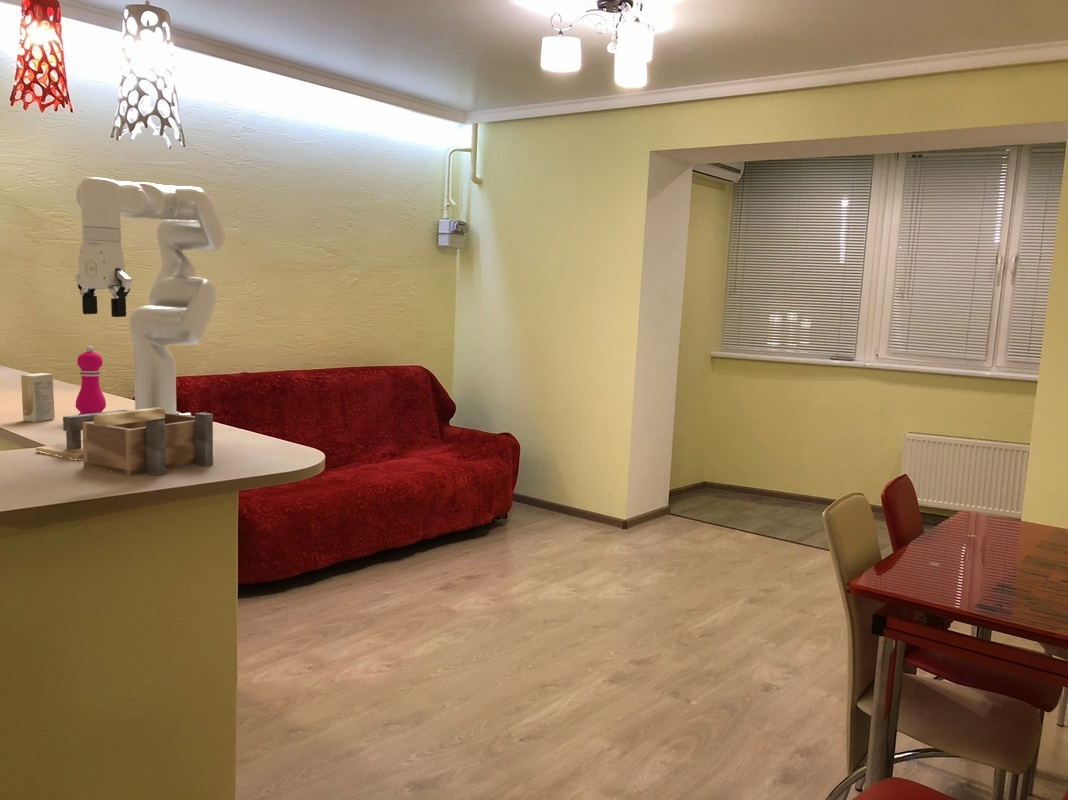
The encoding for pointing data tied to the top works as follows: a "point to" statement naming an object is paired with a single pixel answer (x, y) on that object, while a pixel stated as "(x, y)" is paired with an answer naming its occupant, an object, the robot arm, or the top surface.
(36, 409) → the skincare box
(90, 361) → the pepper mill
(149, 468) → the toolbox
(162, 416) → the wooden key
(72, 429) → the toolbox lid
